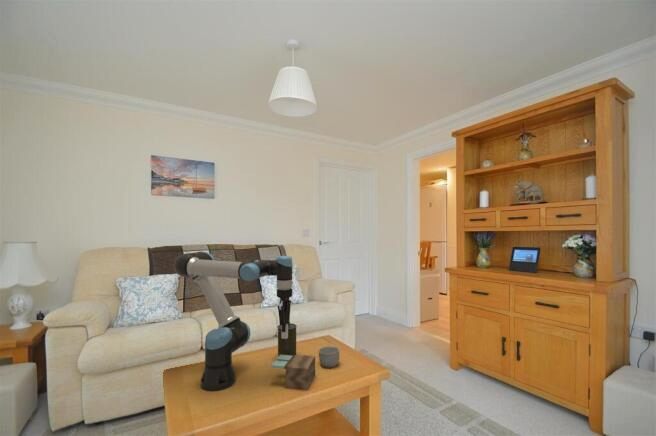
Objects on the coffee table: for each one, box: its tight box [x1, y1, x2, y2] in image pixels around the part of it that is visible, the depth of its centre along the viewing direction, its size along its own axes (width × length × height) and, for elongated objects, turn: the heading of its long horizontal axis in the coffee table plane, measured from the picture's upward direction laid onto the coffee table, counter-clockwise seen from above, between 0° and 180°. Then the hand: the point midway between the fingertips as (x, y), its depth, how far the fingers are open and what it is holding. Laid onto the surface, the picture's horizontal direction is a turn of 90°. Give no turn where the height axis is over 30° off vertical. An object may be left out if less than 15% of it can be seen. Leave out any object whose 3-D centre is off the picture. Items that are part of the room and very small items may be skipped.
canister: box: [277, 320, 297, 357], centre depth 173 cm, size 11×10×20 cm
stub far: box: [275, 355, 294, 362], centre depth 152 cm, size 7×5×1 cm
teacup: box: [318, 344, 340, 368], centre depth 166 cm, size 14×11×8 cm
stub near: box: [270, 360, 289, 370], centre depth 145 cm, size 7×5×1 cm
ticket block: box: [285, 354, 316, 391], centre depth 147 cm, size 10×14×9 cm
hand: (284, 337), depth 152 cm, fingers closed
